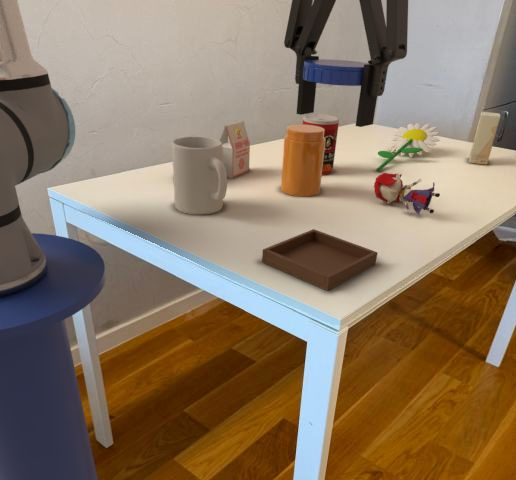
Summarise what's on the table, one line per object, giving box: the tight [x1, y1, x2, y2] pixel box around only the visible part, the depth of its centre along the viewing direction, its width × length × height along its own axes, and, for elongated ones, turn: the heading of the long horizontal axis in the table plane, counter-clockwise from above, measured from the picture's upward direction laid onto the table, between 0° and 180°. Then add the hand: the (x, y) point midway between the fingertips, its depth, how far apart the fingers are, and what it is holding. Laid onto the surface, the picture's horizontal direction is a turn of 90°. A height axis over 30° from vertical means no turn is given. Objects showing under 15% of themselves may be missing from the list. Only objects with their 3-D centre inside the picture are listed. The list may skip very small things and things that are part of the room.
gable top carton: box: [219, 120, 251, 179], centre depth 106 cm, size 4×7×10 cm, turn 149°
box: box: [468, 111, 502, 166], centre depth 122 cm, size 5×4×11 cm
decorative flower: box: [376, 122, 441, 172], centre depth 124 cm, size 13×5×30 cm
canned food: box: [301, 113, 340, 176], centre depth 110 cm, size 8×8×11 cm
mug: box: [171, 136, 228, 216], centre depth 86 cm, size 12×8×11 cm
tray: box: [261, 228, 379, 292], centre depth 72 cm, size 12×12×2 cm
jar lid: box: [302, 58, 369, 87], centre depth 61 cm, size 9×9×2 cm
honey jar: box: [280, 124, 326, 197], centre depth 97 cm, size 8×8×12 cm
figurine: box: [373, 172, 441, 216], centre depth 93 cm, size 6×8×15 cm
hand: (333, 118), depth 64 cm, fingers closed on jar lid, 8 cm apart
